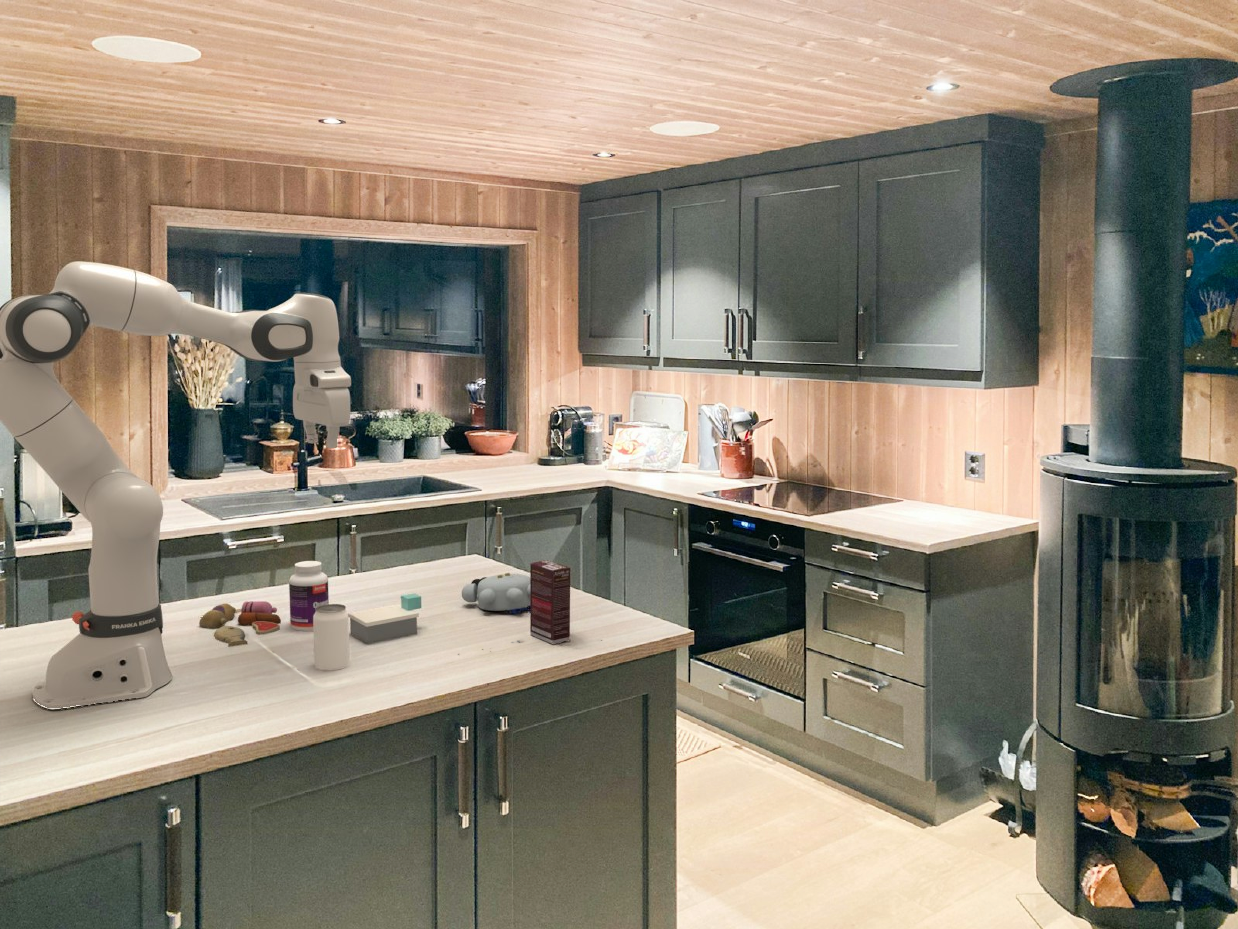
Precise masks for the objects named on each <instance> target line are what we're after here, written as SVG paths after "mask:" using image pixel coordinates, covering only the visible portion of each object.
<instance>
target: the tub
mask: <svg viewBox="0 0 1238 929" xmlns="http://www.w3.org/2000/svg"><path fill="white" fill-rule="evenodd" d="M349 619H350V620H349V621H350V622H349V623H350V625H349V627H350V630H349V633H350V635H351V636H353V637H355V638H356V639H357V640H358V639H359V640H360V641H362V642H363V643H365V644H367V645H370V644H375V643H379V642H384V641H388V640H393V639H400V638H403V637H409V636H412V635H418V622H417V621H418V617H415V618H410V619H405V620H400V621H394V622H389V623H384V624H379V625H374V626H368V627H366V626H364V625H362V624H360V623H359V622H357V621H355V620H353V619H351V618H350V617H349Z"/></svg>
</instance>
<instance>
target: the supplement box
mask: <svg viewBox="0 0 1238 929" xmlns="http://www.w3.org/2000/svg"><path fill="white" fill-rule="evenodd" d="M529 566H530V571H529V572H530V573H529V577H530V610H529V611H530V616H529V617H530V624H529V625H530V626H529V628H530V632H529V633H530V636H533V637H535V638H537V639H540V640H542V641H544V642H547V643H549V644H552V645H556V644H555V643H557V644H560V642H562V643H564V641H566V642H568V640H569V641H570V640H571V567H569V566H566V565H563V564H559V563H557V562H554V561H551V560H548V559H547V560H541V561H540V560H539V561H534V562H533V561H532V562H530V565H529Z"/></svg>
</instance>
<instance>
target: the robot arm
mask: <svg viewBox="0 0 1238 929" xmlns="http://www.w3.org/2000/svg"><path fill="white" fill-rule="evenodd" d="M89 327H99V328H100V327H101V328H104V329H109V330H114V331H118V332H122V333H126V334H132V335H139V336H149V337H164V336H167V335H174V334H175V335H176V334H177V335H184V336H189V337H194V338H198V339H203V340H205V341H210V342H214V343H218V344H221V345H224V346H225V347H227V348H228V349H230V351H232V352H234V353H235V354H236V355H238V356H239V357H241V358H243V359H245V360H247V361H248V360H249V361H252V362H253V361H254V362H256V361H265V362H282V361H285V360H288V359H292V358H293V365H294V367H293V368H294V381H295V382H294V386H293V390H292V412H293V415H294V418H295V419H296V420H300V421H302V424H303V428H304V430H305V434H306V440H307V441H306V442H307V443H309V444H318V442H319V434H318V433H317V429H316V425H317V424H318V425H322V426H326V427H325V428H326V432H327V434H326V435H327V437H326V438H325V447H326V448H327V449H336V448H338V439H339V435H340V431H341V430H340V427H347V426H348V425H349V424H350V421H351V394H350V390H349V388H350V387H351V386H352V378H351V375H349V374H348V373H347V372H346V371H345V370H344V368H343V367H342V364H341V356H340V353H339V342H340V329H339V321H338V313H337V307H336V305H335V303H334V301H333V300H332V299H331V298H330V297H328V296H325V295H322V294H317V293H313V292H312V293H309V292H297V293H295V294H293V296H291V298H289V299H288V300H286V301H285V302H283V303H281V304H279V305H277V306H275V307H272V308H269V309H268V310H259V309H246V310H241V311H236V312H233V311H226V310H221V309H218V308H215V307H211V306H207V305H204V304H199V303H197V302H193V301H191V300H188V299H186V298H185V297H183V296H182V295H181V294H180V292H179V291H178V290H177V289H176V287H175V286H174V285H173V284H171V283H169V282H167V281H165V280H163V279H161V278H159V277H157V276H154V275H152V274H149V273H145V272H142V271H139V270H136V269H132V268H127V267H122V266H118V265H113V264H107V263H101V262H93V261H83V260H82V261H81V260H80V261H71V262H69V263H67V264H66V265H64V266H63V268H61V270H59V273H58V274H57V277H56V279H55V281H54V287H53V288H52V289H51V291H50V292H49V293H47V294H27V295H22V296H18V297H13V298H12V299H9V300H8V301H6V302H4V303H3V304H2V305H1V306H0V422H1V423H2V425H3V426H4V427H5V428H6V430H7V431H8V432H9V433H10V435H12V437H13V438H14V439H15V440H16V441H17V442H18V443H19V444H20V445H21V447H23V449H24V450H25V451H26V452H27V453H28V455H30V457H31V458H32V459H33V460H34V461H35V462H36V463H37V464H38V465H39V467H41V469H42V470H43V471H44V472H45V473H46V474H47V476H49V478H50V479H51V480H52V481H53V483H54V484H55V485H56V486H57V488H58V489H59V490H60V491H61V492H62V493H63V494H64V496H65V497H66V498H67V499H68V501H70V503H71V504H72V505H73V506H74V507H75V508H76V509H77V511H78V512H79V513H80V514H81V515H82V516H83V517H84V519H85V520H86V521H88V522H89V523H90V525H91V531H92V532H91V533H92V535H91V537H92V538H91V551H90V552H91V553H90V559H89V560H90V562H89V565H88V570H87V571H88V583H89V586H88V587H89V601H90V610H89V611H86V613H85V614H84V612H82V611H75V612H74V613H73V614H72V615H71V616H72V617H71V619H72V621H73V622H74V623H75V624H76V625H78V630H79V634H78V635H76V636H75V637H74V638H72V639H71V640H70V641H69V642H68V643H66V644H65V645H64V646H63V647H62V648H60V649H59V650H58V651H57V652H55V653H54V654H52V656H51V657H50V658H49V661H48V664H47V667H46V674H45V681H42V682H39V683H37V684H36V685H35V686H33V688H32V694H31V696H32V695H33V698H34V699H35V701H36V702H37V703H39V704H40V705H43V706H45V707H47V708H63V707H70V706H76V705H88V706H90V705H89V704H94V703H95V705H97V704H96V703H101V702H108V703H114V702H113V701H115V702H119V701H118V700H122V701H125V700H124V699H129V700H131V699H130V698H136V699H140V698H141V699H142V698H146V697H148V696H150V695H151V694H152V693H153V692H154V691H156V690H157V689H159V688H161V687H163V686H166V684H168V683H170V681H172V679H173V675H172V672H171V669H170V666H169V664H168V660H167V658H166V654H165V649H164V648H165V647H164V644H163V636H162V634H163V628H164V619H163V618H164V617H163V609H162V604H160V603H159V588H158V572H157V569H158V568H157V566H158V565H157V564H158V562H157V561H158V552H159V551H158V550H159V544H160V535H161V533H160V532H161V522H162V520H163V516H164V505H163V502H162V499H161V496H160V494H159V493H158V491H157V490H156V488H155V487H154V486H153V485H152V484H151V483H149V482H148V481H146V480H144V479H142V478H140V477H139V476H137V475H135V473H133V472H132V471H131V470H130V468H128V466H127V465H126V464H125V462H123V460H122V458H121V457H120V456H119V455H118V453H117V452H116V450H115V449H114V448H113V447H112V445H111V443H110V442H109V441H108V439H107V438H106V436H105V435H104V433H103V432H102V431H101V429H100V428H99V427H98V426H97V425H96V424H95V423H94V421H93V420H92V419H91V418H90V416H89V415H88V414H87V413H86V412H85V411H84V410H83V409H82V407H80V406H81V405H79V404H78V402H77V401H76V400H75V399H74V398H73V397H72V395H71V394H69V392H68V391H67V390H66V389H65V388H64V387H63V386H62V384H61V382H60V381H59V379H58V378H57V376H56V374H55V371H54V363H56V362H58V361H61V360H63V359H65V358H66V357H68V356H69V355H71V354H72V353H73V352H74V351H75V349H76V348H77V346H78V345H79V343H80V341H81V339H82V338H83V336H84V335H85V332H86V331H87V329H88V328H89ZM33 698H32V699H33Z"/></svg>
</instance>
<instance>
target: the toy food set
mask: <svg viewBox="0 0 1238 929" xmlns="http://www.w3.org/2000/svg"><path fill="white" fill-rule="evenodd" d="M277 612H278V608H277V607H275V606H274V607H273V606H272V604H271V603H270V602H268V601H261V600H259V601H244V602H243V603H242V605H241V608H237V609H236V608H235V607H234V606H232V605H231V604H229V603H221V604H218V605H215V606H214V607H213V608H212V609H211V610H208V611H207V612H206V613H204V614H203V615H202V616H203V617H200V618H199V619H200V620H199V622H198V625H199V626H200V627H203V626H204V628H208V627H209V628H210V629H216V630H215V631H214V632H213V638H214V637H215V638H214V639H215V640H217V641H218V640H219V642H222V643H226V644H227V647H228V648H230V647H237V646H243V645H248V640H246V639H245V638H246V634H245V631H244V630H243V629H242V628H240V627H237V626H233V625H225V624H226V623H227V622H229V621H231V620H233V618H234V617H235V614H238V613H240V614H239V615H238V618H237V623H238V625H239V626H249V627H250V626H251V627H252V629H254V630H255V632H256V635H268V634H272V633H275V632H277V631H279V630H280V629H281V628H280V627H281V626H280V624H281V622H282V619H281V617H280V615H278V614H276V613H277Z"/></svg>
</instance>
